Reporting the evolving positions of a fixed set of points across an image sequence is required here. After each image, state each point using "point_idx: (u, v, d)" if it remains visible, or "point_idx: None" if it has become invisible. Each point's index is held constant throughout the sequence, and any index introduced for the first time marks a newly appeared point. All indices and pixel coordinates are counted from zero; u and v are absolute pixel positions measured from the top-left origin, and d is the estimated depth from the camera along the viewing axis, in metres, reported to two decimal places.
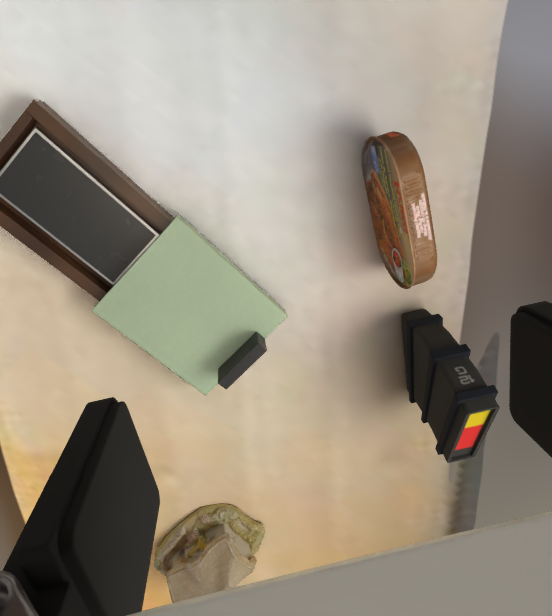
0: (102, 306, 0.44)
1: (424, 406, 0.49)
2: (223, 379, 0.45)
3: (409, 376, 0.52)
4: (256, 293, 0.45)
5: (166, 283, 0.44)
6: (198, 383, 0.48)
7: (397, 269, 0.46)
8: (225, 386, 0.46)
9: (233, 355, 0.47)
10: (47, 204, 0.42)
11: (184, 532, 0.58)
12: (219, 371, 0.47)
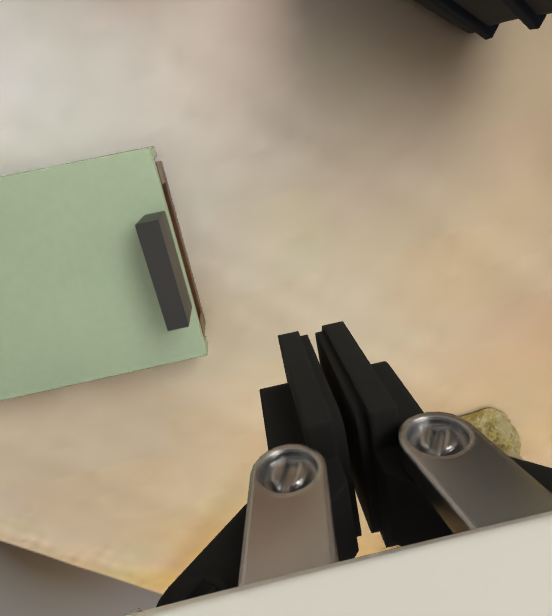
0: None
1: None
2: (167, 319, 0.24)
3: (435, 1, 0.24)
4: (73, 170, 0.24)
5: None
6: (179, 351, 0.28)
7: None
8: (182, 324, 0.24)
9: None
10: None
11: None
12: None
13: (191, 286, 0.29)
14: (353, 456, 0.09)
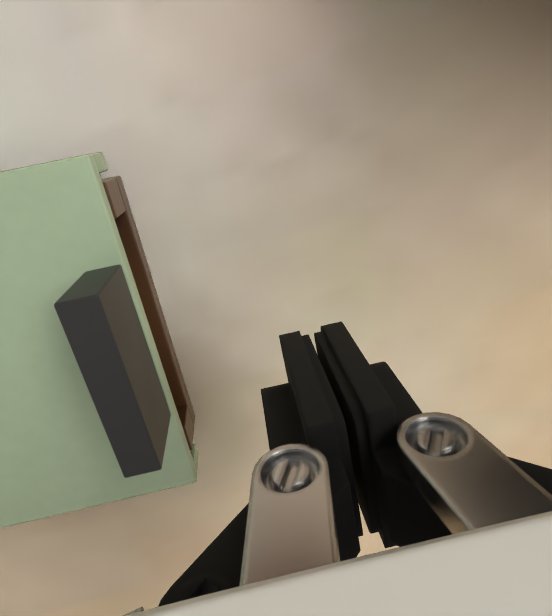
0: None
1: None
2: (122, 460, 0.14)
3: None
4: None
5: None
6: (151, 479, 0.18)
7: None
8: (149, 466, 0.14)
9: None
10: None
11: None
12: None
13: (172, 369, 0.19)
14: (352, 456, 0.09)
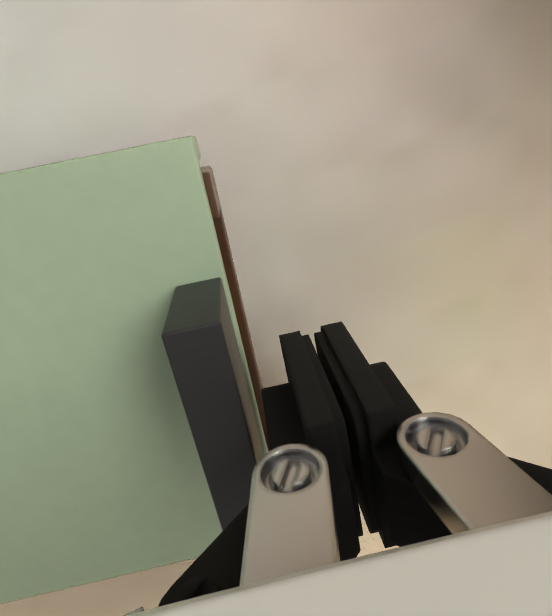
0: None
1: None
2: None
3: None
4: (14, 189, 0.10)
5: None
6: None
7: None
8: None
9: None
10: None
11: None
12: None
13: (258, 398, 0.16)
14: (352, 456, 0.09)
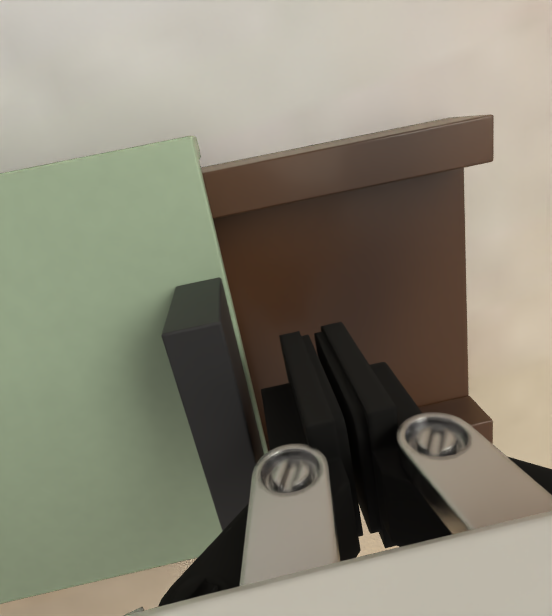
0: None
1: None
2: None
3: None
4: (14, 189, 0.10)
5: None
6: None
7: None
8: None
9: None
10: None
11: None
12: None
13: (463, 353, 0.16)
14: (352, 456, 0.09)
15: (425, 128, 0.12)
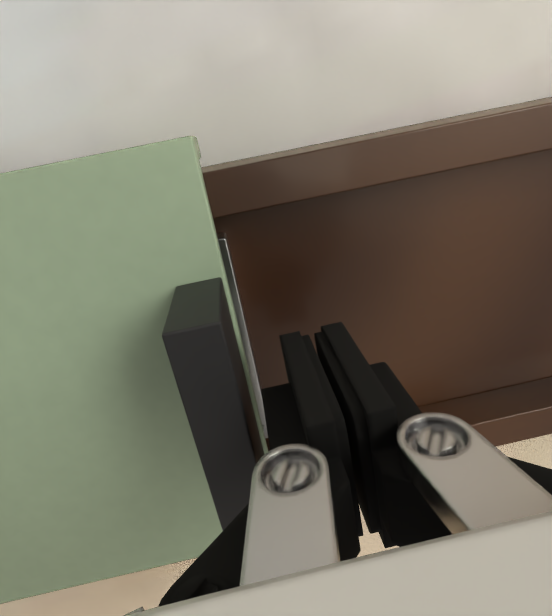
0: None
1: None
2: None
3: None
4: (14, 189, 0.10)
5: None
6: None
7: None
8: None
9: None
10: None
11: None
12: None
13: None
14: (351, 456, 0.09)
15: None
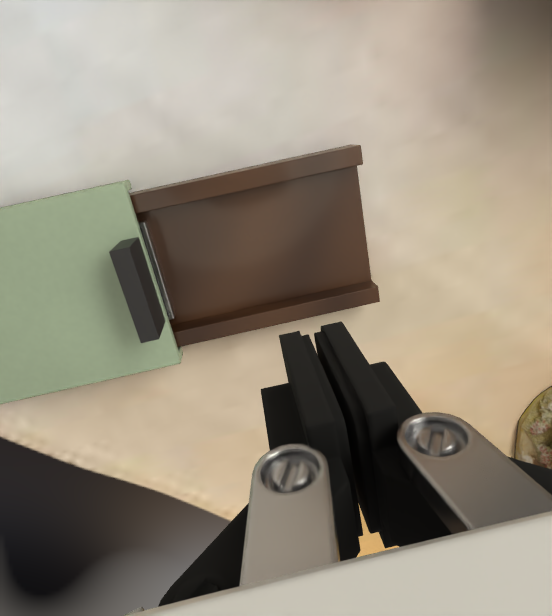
0: None
1: None
2: (139, 333, 0.28)
3: None
4: (57, 203, 0.27)
5: None
6: (155, 360, 0.32)
7: None
8: (153, 337, 0.28)
9: None
10: None
11: (530, 459, 0.41)
12: None
13: (366, 257, 0.33)
14: (352, 456, 0.09)
15: (332, 151, 0.29)
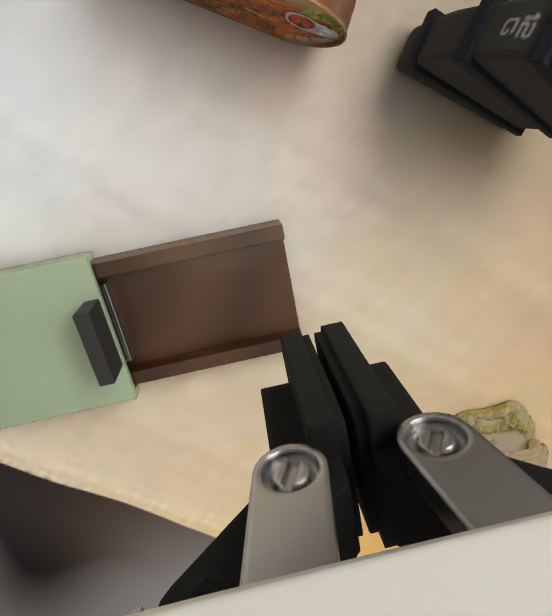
0: None
1: (531, 121, 0.31)
2: (98, 378, 0.34)
3: (482, 113, 0.34)
4: (31, 273, 0.33)
5: None
6: (115, 396, 0.38)
7: (317, 30, 0.29)
8: (110, 381, 0.34)
9: None
10: None
11: None
12: None
13: (294, 309, 0.40)
14: (352, 456, 0.09)
15: (259, 229, 0.35)
